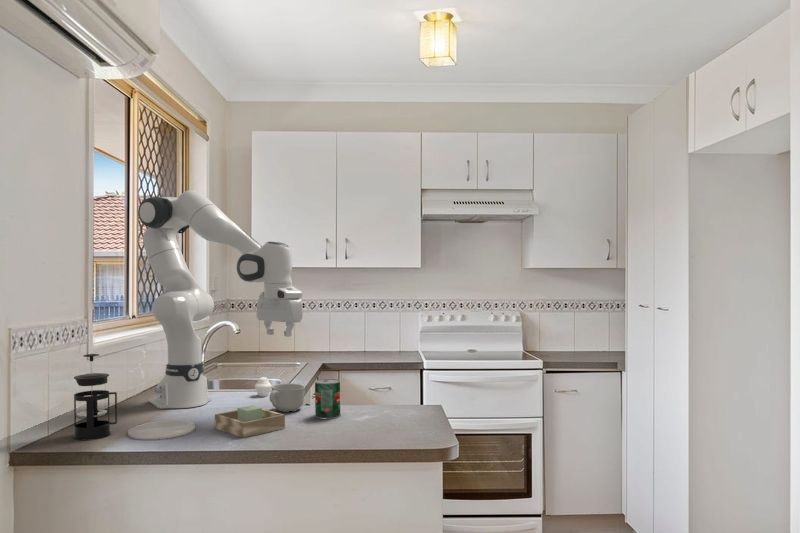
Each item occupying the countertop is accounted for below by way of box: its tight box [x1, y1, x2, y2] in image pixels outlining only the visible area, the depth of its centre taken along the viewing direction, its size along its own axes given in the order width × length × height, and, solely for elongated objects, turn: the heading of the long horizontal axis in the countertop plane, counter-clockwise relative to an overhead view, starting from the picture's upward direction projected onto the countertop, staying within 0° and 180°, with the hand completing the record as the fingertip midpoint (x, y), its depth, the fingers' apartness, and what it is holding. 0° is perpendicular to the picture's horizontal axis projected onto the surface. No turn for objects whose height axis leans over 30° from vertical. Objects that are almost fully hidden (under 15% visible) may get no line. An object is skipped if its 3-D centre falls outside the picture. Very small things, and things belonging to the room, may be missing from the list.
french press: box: [73, 353, 118, 441], centre depth 180 cm, size 12×9×23 cm
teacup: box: [269, 383, 306, 413], centre depth 208 cm, size 14×11×8 cm
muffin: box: [254, 376, 273, 398], centre depth 233 cm, size 6×6×7 cm
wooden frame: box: [214, 408, 286, 438], centre depth 186 cm, size 16×14×4 cm
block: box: [236, 405, 263, 422], centre depth 186 cm, size 5×5×6 cm
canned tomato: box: [314, 378, 341, 420], centre depth 201 cm, size 8×8×11 cm
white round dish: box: [127, 419, 196, 441], centre depth 184 cm, size 18×18×1 cm
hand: (278, 335), depth 205 cm, fingers open, 8 cm apart
